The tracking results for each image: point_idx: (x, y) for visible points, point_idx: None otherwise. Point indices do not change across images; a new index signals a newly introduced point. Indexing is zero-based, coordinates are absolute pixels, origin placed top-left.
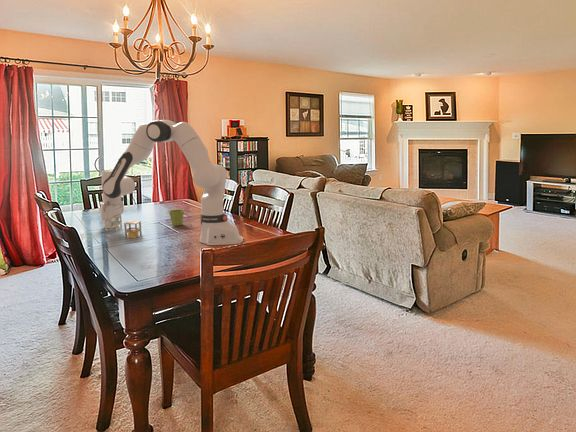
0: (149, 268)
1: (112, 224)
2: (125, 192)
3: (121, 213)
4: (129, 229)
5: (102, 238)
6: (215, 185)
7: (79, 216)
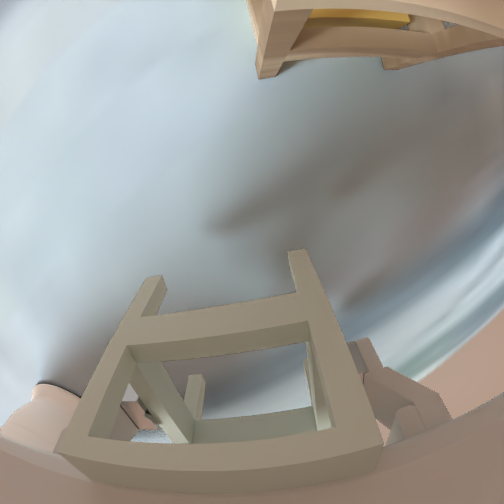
0: None
1: None
2: None
3: (11, 445)
4: (321, 33)
5: (423, 290)
6: None
7: None
